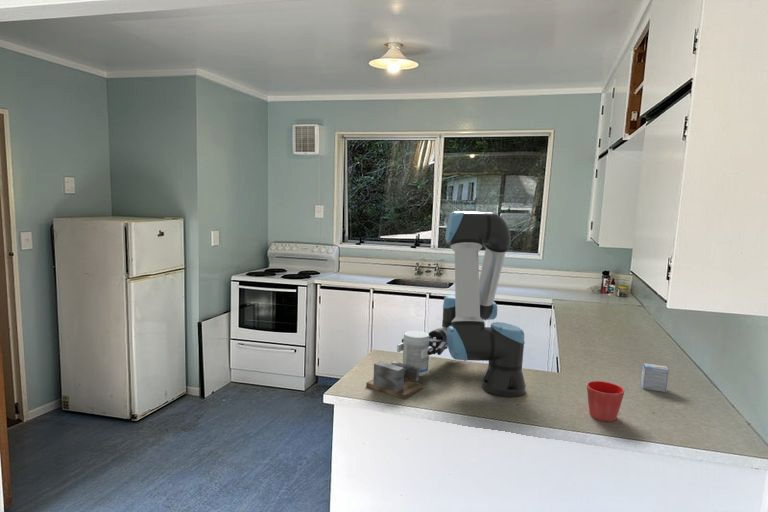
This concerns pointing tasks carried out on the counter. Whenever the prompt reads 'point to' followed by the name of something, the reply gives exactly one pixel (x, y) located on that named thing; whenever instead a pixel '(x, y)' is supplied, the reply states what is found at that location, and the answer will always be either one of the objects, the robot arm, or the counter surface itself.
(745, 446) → the counter surface
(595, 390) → the flower pot
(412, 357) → the supplement tub
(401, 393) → the gauge bench
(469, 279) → the robot arm
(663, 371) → the medicine box
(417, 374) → the gauge plunger
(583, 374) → the counter surface
